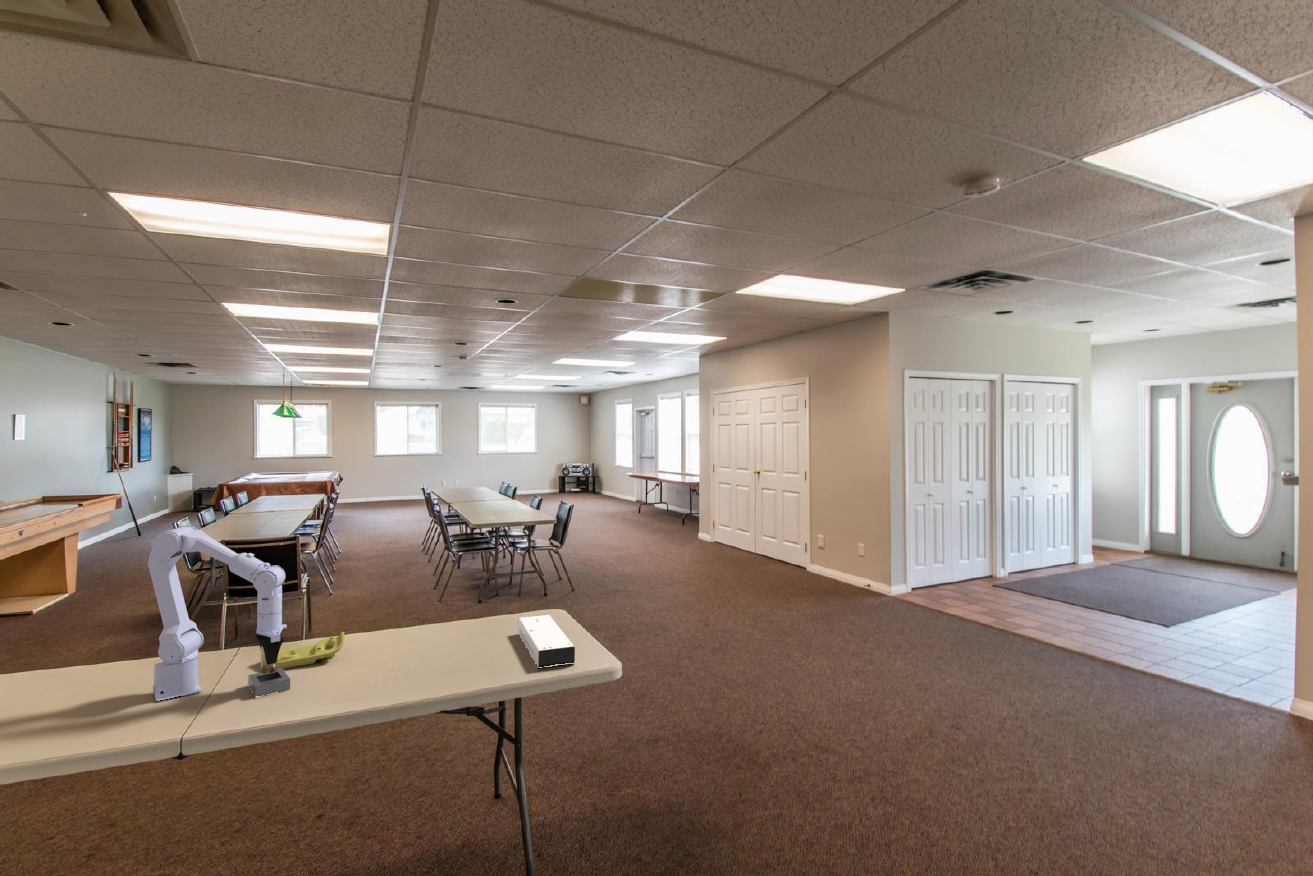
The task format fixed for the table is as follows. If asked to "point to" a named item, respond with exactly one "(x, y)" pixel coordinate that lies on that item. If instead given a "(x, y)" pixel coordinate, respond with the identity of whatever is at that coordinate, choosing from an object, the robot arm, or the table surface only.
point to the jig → (269, 682)
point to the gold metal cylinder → (267, 668)
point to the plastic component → (310, 652)
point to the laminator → (545, 641)
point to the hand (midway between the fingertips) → (269, 661)
